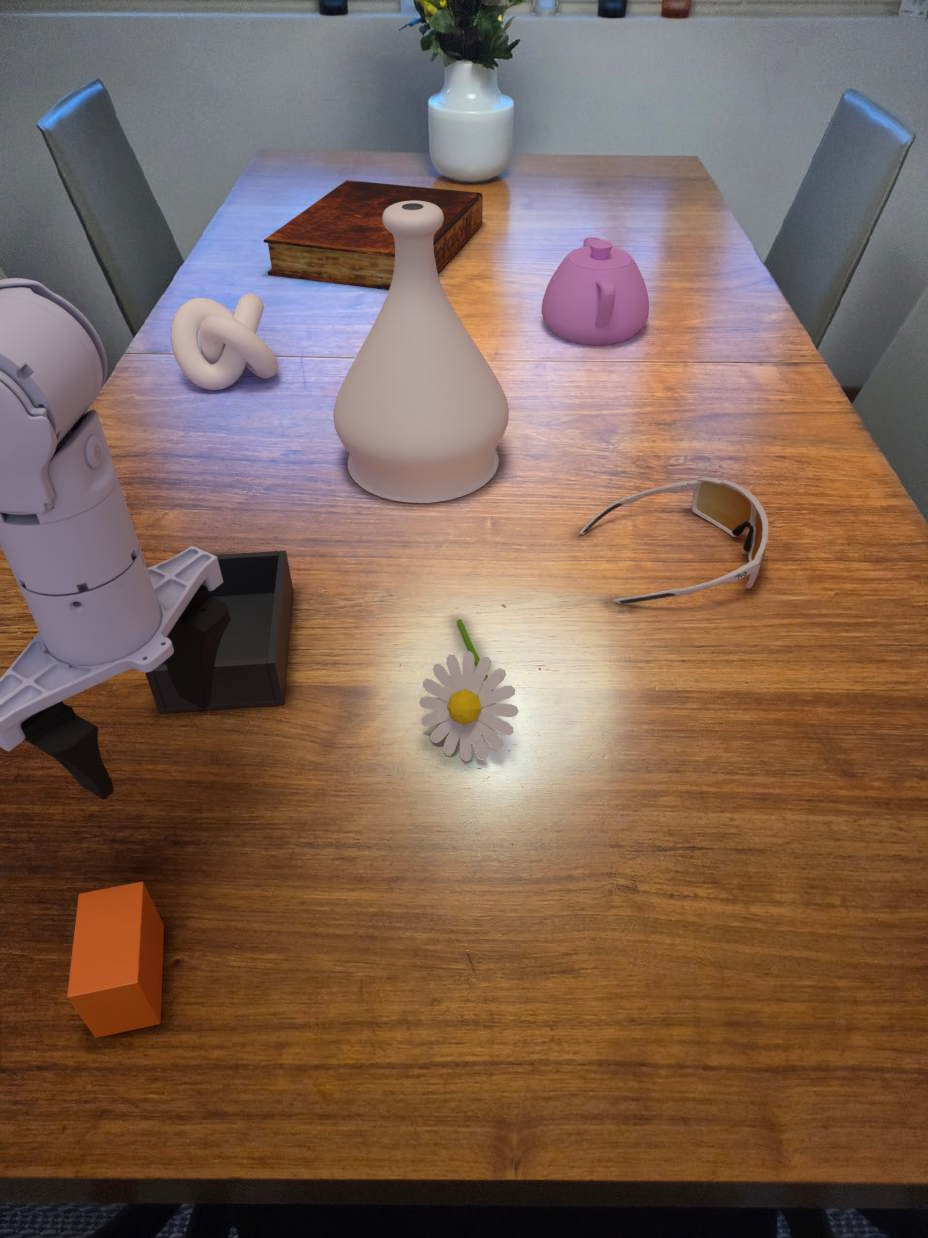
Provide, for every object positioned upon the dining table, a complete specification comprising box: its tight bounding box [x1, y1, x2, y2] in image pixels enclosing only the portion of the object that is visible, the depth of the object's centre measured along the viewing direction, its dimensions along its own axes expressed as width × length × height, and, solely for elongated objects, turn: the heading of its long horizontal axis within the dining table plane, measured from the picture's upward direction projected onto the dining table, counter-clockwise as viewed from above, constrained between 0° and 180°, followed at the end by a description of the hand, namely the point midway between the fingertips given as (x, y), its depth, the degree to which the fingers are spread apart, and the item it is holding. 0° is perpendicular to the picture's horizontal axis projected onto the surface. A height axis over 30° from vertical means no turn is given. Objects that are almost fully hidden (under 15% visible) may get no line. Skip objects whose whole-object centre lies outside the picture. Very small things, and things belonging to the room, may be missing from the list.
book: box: [263, 179, 484, 291], centre depth 135 cm, size 30×24×5 cm
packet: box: [66, 881, 165, 1039], centre depth 48 cm, size 4×6×5 cm, turn 13°
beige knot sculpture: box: [170, 292, 279, 391], centre depth 102 cm, size 11×12×9 cm
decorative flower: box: [418, 618, 519, 762], centre depth 65 cm, size 8×6×15 cm
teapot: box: [541, 236, 650, 346], centre depth 112 cm, size 14×20×11 cm
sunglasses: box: [578, 476, 770, 605], centre depth 78 cm, size 14×15×5 cm
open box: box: [144, 550, 294, 714], centre depth 69 cm, size 9×13×4 cm
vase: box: [332, 201, 510, 504], centre depth 82 cm, size 17×17×25 cm
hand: (148, 742), depth 51 cm, fingers open, 7 cm apart
